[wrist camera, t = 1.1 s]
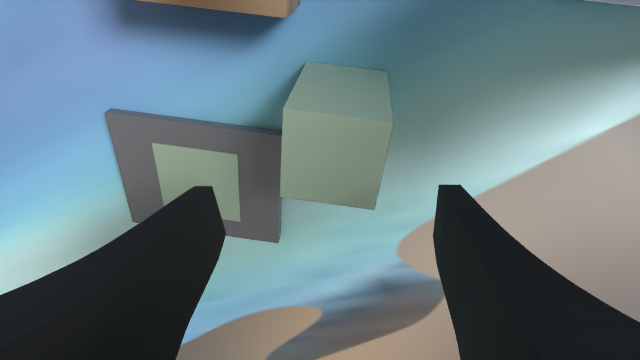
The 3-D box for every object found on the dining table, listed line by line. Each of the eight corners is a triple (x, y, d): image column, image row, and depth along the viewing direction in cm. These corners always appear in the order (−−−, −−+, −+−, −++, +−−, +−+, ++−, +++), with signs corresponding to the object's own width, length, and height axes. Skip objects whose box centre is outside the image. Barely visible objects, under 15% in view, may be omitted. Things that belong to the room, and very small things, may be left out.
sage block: (387, 71, 18) (393, 122, 13) (373, 142, 20) (374, 209, 15) (306, 61, 18) (282, 108, 13) (301, 133, 20) (279, 196, 15)
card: (283, 131, 20) (281, 137, 20) (280, 236, 25) (277, 244, 24) (110, 108, 21) (103, 113, 20) (137, 216, 25) (132, 222, 25)
